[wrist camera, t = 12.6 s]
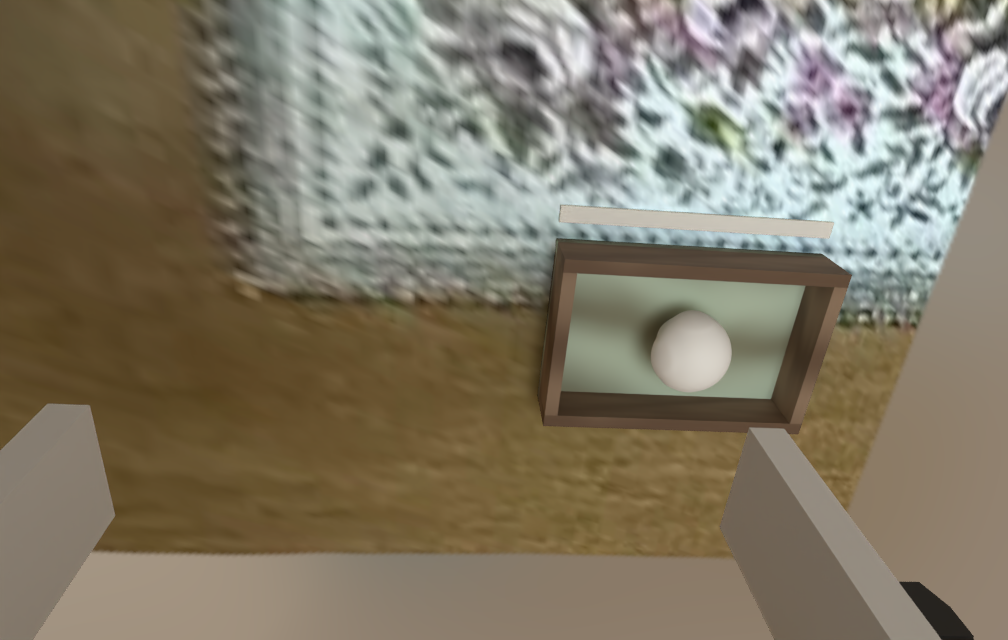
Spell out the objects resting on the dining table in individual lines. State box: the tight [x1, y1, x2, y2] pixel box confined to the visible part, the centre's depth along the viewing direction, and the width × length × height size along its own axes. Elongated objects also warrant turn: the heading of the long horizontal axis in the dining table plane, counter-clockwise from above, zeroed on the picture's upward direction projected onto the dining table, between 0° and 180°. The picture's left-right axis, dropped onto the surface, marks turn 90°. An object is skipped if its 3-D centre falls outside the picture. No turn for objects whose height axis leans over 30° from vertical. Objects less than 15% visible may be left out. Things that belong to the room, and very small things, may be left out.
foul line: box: [559, 205, 834, 239], centre depth 40 cm, size 1×17×1 cm, turn 85°
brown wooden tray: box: [537, 238, 852, 434], centre depth 41 cm, size 11×17×4 cm, turn 85°
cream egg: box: [651, 310, 732, 392], centre depth 40 cm, size 5×5×5 cm
